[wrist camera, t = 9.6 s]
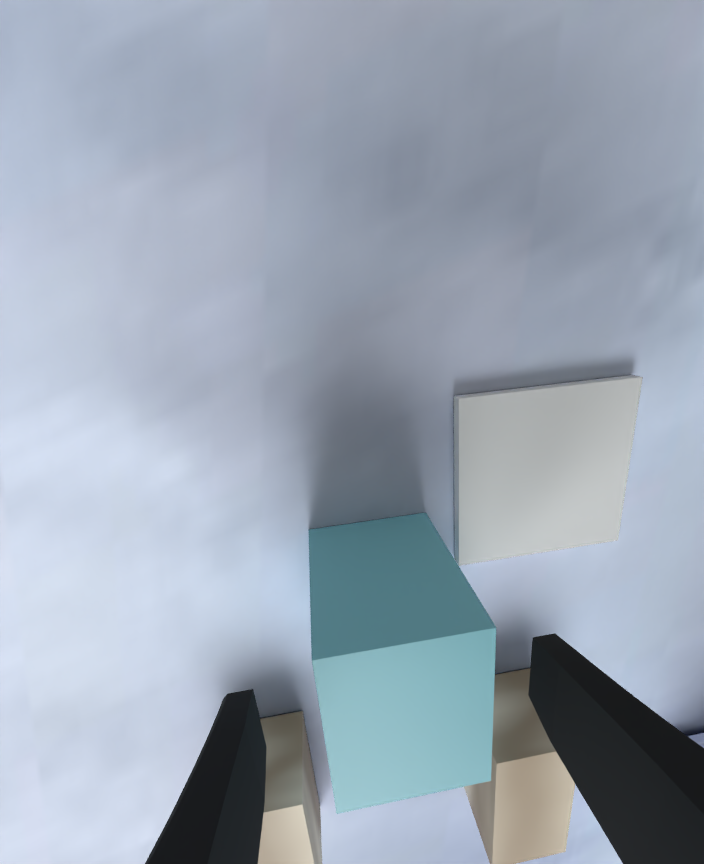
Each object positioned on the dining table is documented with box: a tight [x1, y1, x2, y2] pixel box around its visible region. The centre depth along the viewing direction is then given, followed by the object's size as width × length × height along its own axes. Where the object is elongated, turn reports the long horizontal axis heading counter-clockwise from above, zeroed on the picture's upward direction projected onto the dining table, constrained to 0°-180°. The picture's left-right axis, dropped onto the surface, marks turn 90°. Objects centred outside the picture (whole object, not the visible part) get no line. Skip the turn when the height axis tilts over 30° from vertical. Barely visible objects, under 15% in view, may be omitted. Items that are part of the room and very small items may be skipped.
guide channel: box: [258, 668, 575, 864], centre depth 15 cm, size 12×6×3 cm, turn 95°
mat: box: [454, 375, 643, 566], centre depth 13 cm, size 6×6×1 cm
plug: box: [309, 513, 496, 814], centre depth 12 cm, size 4×10×5 cm, turn 5°
